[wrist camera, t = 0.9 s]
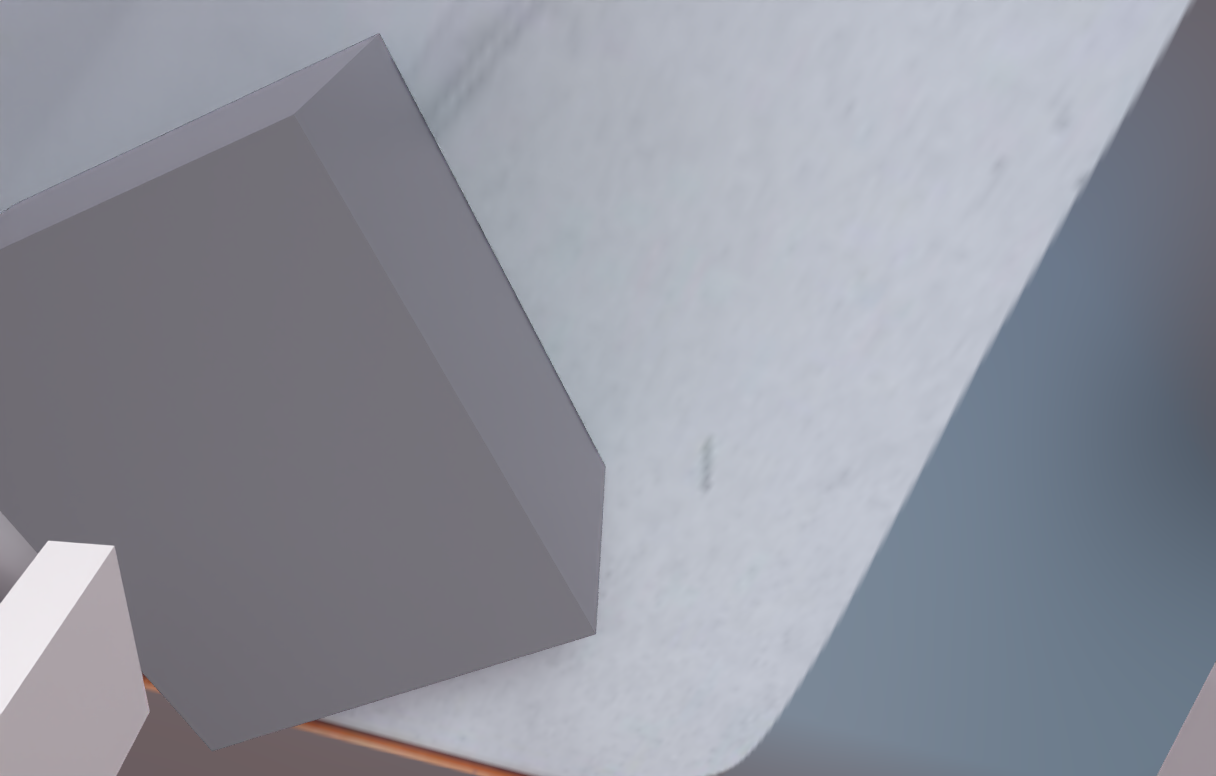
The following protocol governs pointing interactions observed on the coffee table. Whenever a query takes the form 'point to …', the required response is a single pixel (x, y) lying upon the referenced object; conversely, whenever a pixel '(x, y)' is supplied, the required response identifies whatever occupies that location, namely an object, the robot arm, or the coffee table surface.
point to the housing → (294, 408)
